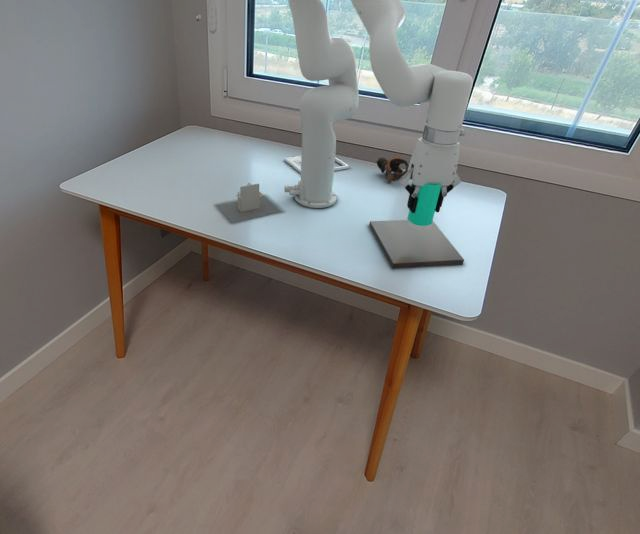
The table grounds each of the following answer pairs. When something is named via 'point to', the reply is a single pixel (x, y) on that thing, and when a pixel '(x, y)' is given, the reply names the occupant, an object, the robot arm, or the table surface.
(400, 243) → the serving board
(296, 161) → the photo frame
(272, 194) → the table surface
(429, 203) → the candle
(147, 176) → the table surface
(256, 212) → the architectural model
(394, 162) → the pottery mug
